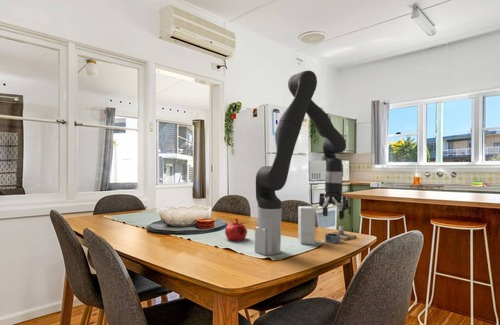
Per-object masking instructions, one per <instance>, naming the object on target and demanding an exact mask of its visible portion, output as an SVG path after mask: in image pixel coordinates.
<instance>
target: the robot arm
mask: <svg viewBox="0 0 500 325" xmlns="http://www.w3.org/2000/svg"><path fill="white" fill-rule="evenodd" d="M317 78H318V77H317V75H316V74H315V72H314V71H312V70H304V71H301V72H299V73H296V74H293V75H291V76H290V77H289V79H288V80H287V81H288V82H287V87H288V90H289V92H290V94H291V95H292V96H293V97H294V98H293V99H292V101H291V103H290V104H289V105H288V107H287V108H286V109H285V110H284V112H283V113H282V115H281V116H280V118H279V120H278V123H277V126H276V129H275V134H274V138H275V147H276V152H275V153H276V154H275V156H274V160H273V162H272V165H271V166H269V165H267V166H265V165H264V166H261V167H260V168H259V169H257V172H256V174H255V198H256V201H257V219H256V220H257V224H256V225H257V226H255V227H254V228H255V229H254V252H255V253H258V254H261V255H263V256H269V255H270V256H271V255H272V256H273V255H278V254H280V253H281V247H282V246H281V245H282V244H281V243H282V242H281V240H282V238H281V237H282V235H281V234H282V204H283V203H282V200H281V199H280V198H279V197H278V196H277V195H276V192H277V191H280V190H282V189H283V188H284V187H285V185H286V183H287V180H288V176H289V171H290V168H291V167H290V166H291V161H292V158H293V153H294V150H295V147H296V144H297V141H298V138H299V135H300V133H301V129H302V126H303V122H304V120H305V116H306V114H307V116H308V117H309V119H310V120H311V122H312V124H313V126H314V127H315V130H316V131H317V133H318V134H319V136H320V137H321V138H325V139H324V140H323V142H322V151H323V156H324V161H325V174H324V176H325V177H324V181H325V182H324V191H325V192H323V193H319V199H318V205H319V207H321V208H322V215H323V217H328V208H329V206H330V205H334V206H336V207H337V208H338V211H339V212H338V214H339V215H338V219H339V220H344V218H345V211H347V210H349V209H350V206H349V205H350V203H349V196H348V195H343V194H342V193H343V160H342V159H341V158H338V157H337V155H336V154H341V153H344V152H345V150H346V148H347V142H346V139H345V137H344V136H343V135H342V134H341V133H340V132H339V131H338V130H337V128H336V127H334V125H333V122H332V120H331V119H330V117H329V115H328V114H327V113H326V111H325V110H324V109H323V108H321V107H320V106H319V105H318V104H317V103H315V101H314V100H312V99H313V96H314V94H315V92H316V89H317V87H318V80H317Z"/></svg>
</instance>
